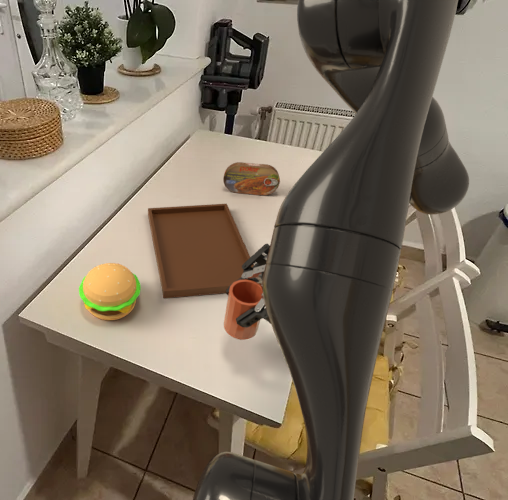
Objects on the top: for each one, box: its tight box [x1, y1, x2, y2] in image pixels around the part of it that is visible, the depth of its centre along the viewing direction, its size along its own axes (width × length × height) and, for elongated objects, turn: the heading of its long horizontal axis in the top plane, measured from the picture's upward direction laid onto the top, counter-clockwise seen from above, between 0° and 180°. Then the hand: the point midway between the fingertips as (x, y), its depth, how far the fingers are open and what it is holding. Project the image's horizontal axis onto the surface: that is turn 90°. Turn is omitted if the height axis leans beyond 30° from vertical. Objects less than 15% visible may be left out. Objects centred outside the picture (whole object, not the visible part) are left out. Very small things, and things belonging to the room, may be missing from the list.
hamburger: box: [78, 262, 142, 321], centre depth 84 cm, size 12×12×9 cm
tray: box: [147, 203, 262, 299], centre depth 100 cm, size 30×21×2 cm
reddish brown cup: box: [223, 279, 263, 341], centre depth 71 cm, size 6×6×8 cm
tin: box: [222, 161, 281, 196], centre depth 117 cm, size 15×3×8 cm, turn 80°
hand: (234, 308), depth 71 cm, fingers closed on reddish brown cup, 6 cm apart
